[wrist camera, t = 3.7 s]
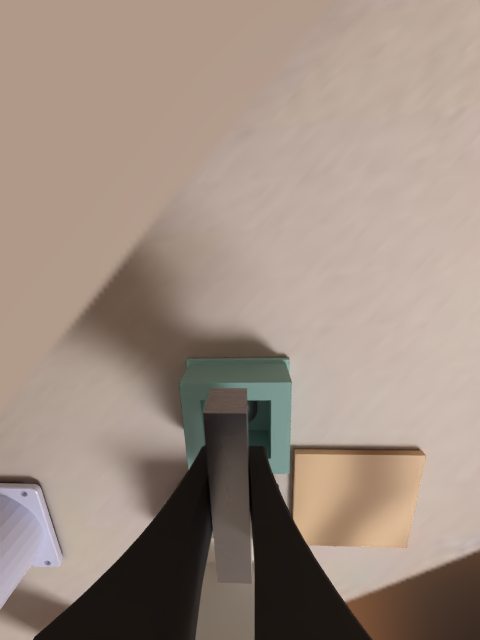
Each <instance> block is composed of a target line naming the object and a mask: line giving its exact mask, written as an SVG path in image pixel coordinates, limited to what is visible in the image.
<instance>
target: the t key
mask: <svg viewBox="0 0 480 640" xmlns="http://www.w3.org/2000/svg"><path fill="white" fill-rule="evenodd" d="M256 414H257V400H248V396H247V388H210V391H209V395H208V398H207V401H206V405H205V408H204V411H203V421H204V433H205V444H206V456H207V468H208V479H209V491H210V502H211V514H212V525H213V537H214V548H215V560H216V572H217V582H219V583H245V584H252V530H251V512H250V479H249V430H248V423H249V422H251V421H252V420H253V419H254V418H255V416H256Z"/></svg>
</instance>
